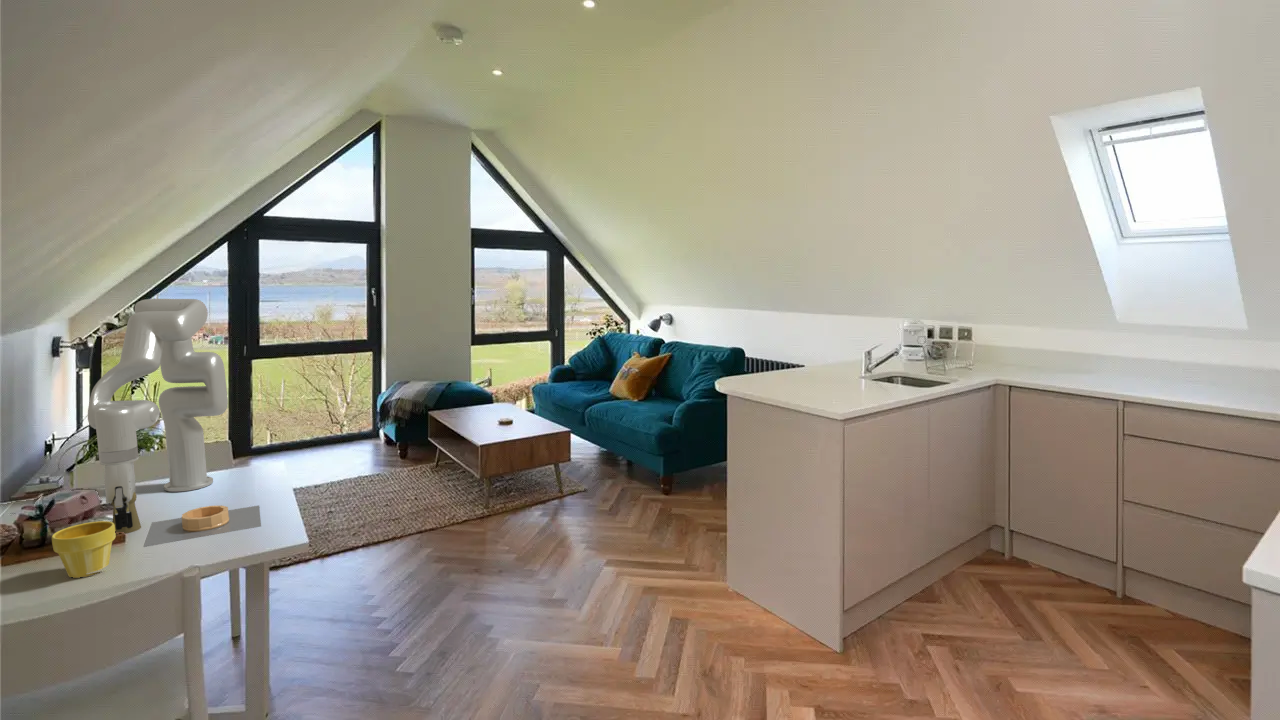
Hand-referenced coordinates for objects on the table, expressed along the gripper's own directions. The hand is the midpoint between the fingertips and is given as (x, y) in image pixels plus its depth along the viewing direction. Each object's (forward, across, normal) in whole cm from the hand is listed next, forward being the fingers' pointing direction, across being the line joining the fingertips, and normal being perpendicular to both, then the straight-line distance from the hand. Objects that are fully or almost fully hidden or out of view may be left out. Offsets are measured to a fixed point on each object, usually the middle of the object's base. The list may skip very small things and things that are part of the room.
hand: (126, 524), depth 157 cm
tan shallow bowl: (+1, +6, +17) cm, 18 cm away
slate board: (+2, +6, +17) cm, 18 cm away
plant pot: (+2, +22, -4) cm, 23 cm away
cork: (+2, 0, 0) cm, 2 cm away
